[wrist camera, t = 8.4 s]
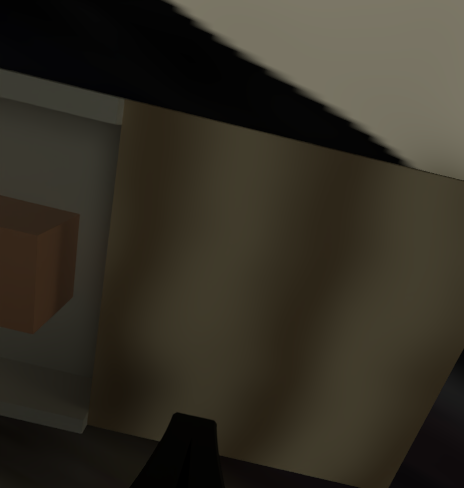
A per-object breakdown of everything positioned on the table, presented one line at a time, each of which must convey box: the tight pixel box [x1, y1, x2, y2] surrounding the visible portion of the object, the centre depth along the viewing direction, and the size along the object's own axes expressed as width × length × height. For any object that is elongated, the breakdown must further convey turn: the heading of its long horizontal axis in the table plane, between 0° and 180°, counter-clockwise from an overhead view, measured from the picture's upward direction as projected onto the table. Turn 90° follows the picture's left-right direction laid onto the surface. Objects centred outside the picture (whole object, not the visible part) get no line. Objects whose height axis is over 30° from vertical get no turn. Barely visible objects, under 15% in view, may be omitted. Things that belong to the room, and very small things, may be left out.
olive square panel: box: [87, 99, 464, 488], centre depth 15 cm, size 14×14×2 cm
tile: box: [0, 195, 80, 334], centre depth 14 cm, size 4×4×3 cm
